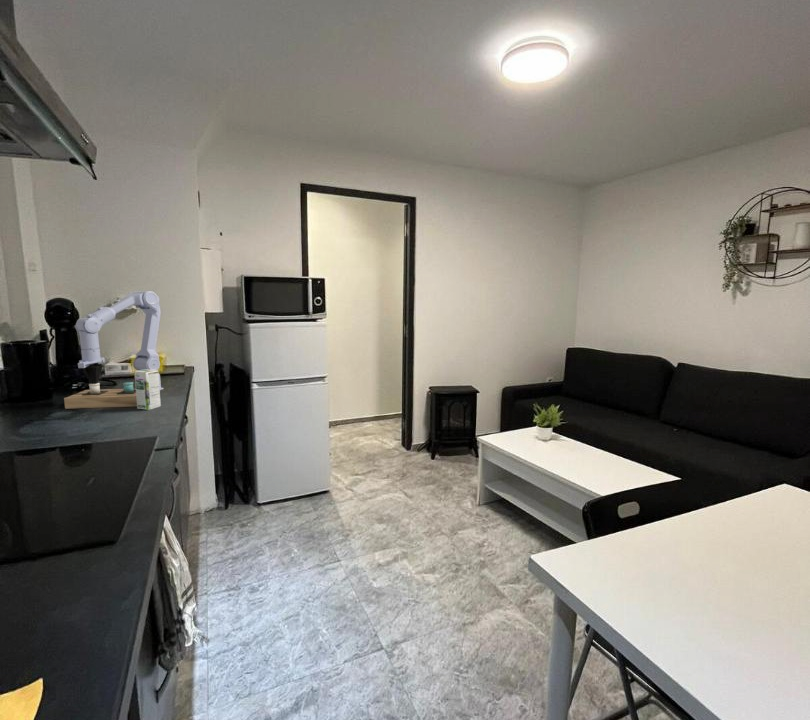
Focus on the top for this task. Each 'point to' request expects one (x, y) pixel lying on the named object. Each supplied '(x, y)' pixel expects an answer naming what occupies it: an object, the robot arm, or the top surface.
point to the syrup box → (147, 389)
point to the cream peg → (94, 388)
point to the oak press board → (101, 399)
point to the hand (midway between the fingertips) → (94, 383)
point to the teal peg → (128, 387)
